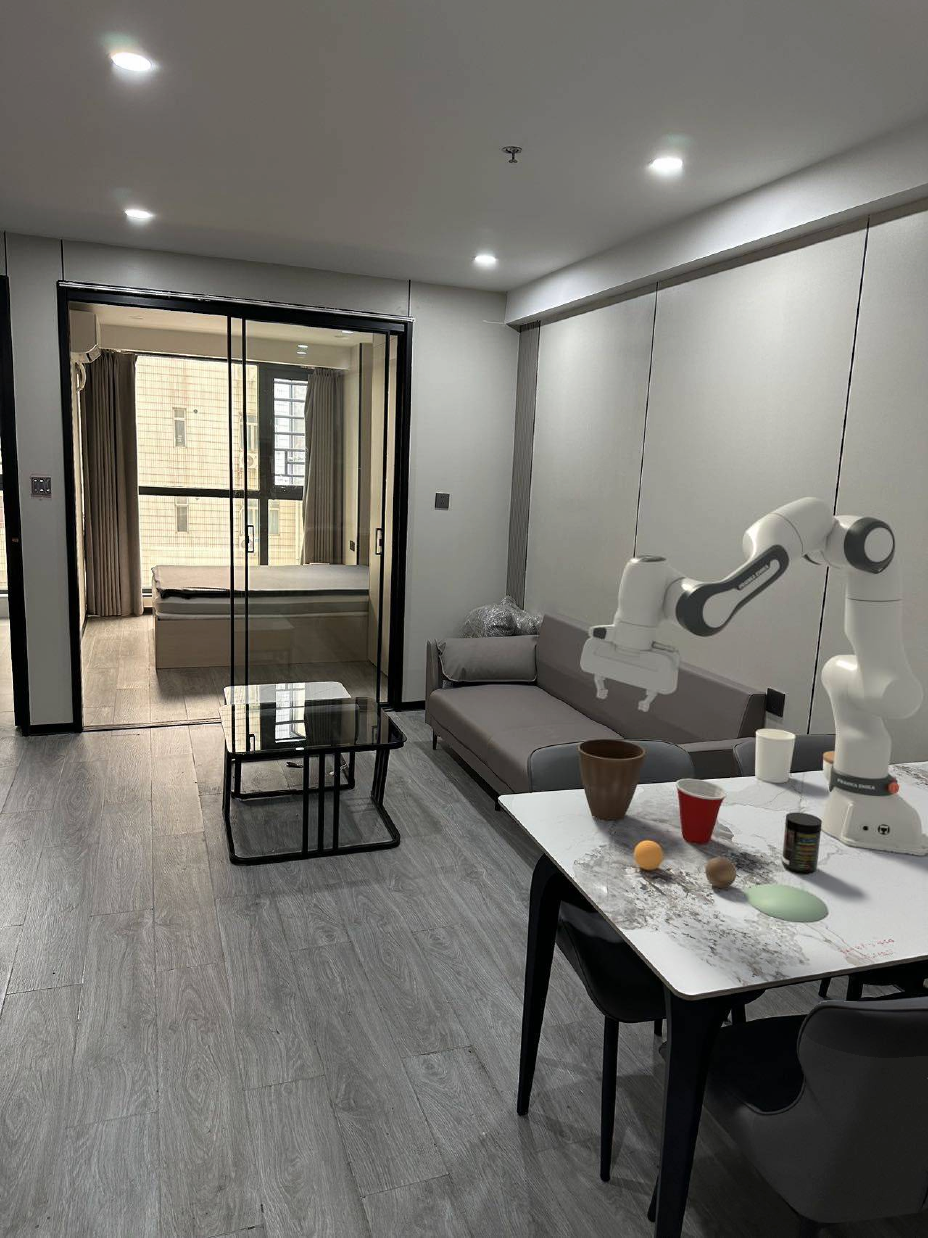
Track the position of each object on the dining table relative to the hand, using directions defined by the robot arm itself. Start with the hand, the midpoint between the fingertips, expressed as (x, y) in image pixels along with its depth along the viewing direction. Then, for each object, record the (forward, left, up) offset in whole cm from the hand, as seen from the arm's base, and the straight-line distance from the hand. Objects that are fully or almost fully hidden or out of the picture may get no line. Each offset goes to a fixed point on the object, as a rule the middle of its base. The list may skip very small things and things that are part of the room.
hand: (621, 704), depth 171 cm
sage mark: (-34, +3, -32) cm, 47 cm away
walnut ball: (-22, +3, -29) cm, 36 cm away
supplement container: (-34, -14, -32) cm, 49 cm away
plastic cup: (-13, -17, -32) cm, 38 cm away
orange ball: (-8, +3, -29) cm, 30 cm away
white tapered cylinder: (-20, -69, -32) cm, 78 cm away
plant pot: (+8, -19, -32) cm, 38 cm away
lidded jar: (-37, -73, -32) cm, 88 cm away
